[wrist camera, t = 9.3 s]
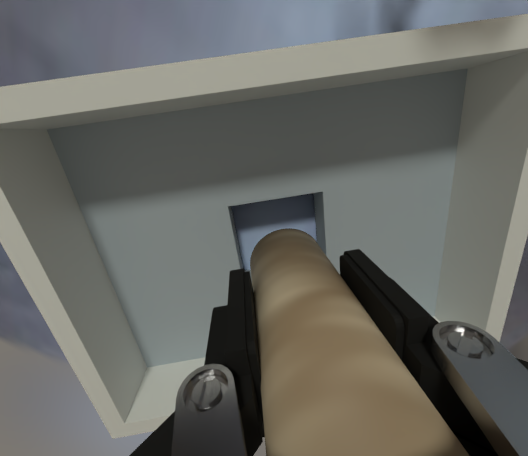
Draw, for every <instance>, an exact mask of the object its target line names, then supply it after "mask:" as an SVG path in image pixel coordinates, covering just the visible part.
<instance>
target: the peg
mask: <svg viewBox="0 0 528 456" xmlns="http://www.w3.org/2000/svg"><path fill="white" fill-rule="evenodd" d="M250 267H251V278H252V287H253V292H254V303H255V314H256V325H257V337H258V348H259V359H260V370H261V397H262V409H263V421H264V433H265V444H266V456H469V454H468V453H467V451H466V450H465V449H464V447H463V446H462V444H461V443H460V442H459V440H458V439H457V437H456V436H455V435H454V433H453V432H452V431H451V429H450V428H449V426H448V425H447V424H446V422H445V421H444V419H443V418H442V417H441V415H440V414H439V412H438V411H437V410H436V408H435V407H434V405H433V404H432V403H431V401H430V400H429V398H428V397H427V396H426V394H425V393H424V391H423V390H422V389H421V387H420V386H419V384H418V383H417V382H416V380H415V379H414V377H413V376H412V375H411V373H410V372H409V370H408V369H407V368H406V366H405V365H404V364H403V362H402V361H401V359H400V358H399V357H398V355H397V354H396V352H395V351H394V350H393V348H392V347H391V345H390V344H389V343H388V341H387V340H386V338H385V337H384V336H383V334H382V333H381V331H380V330H379V329H378V327H377V326H376V324H375V323H374V322H373V320H372V319H371V317H370V316H369V315H368V313H367V312H366V310H365V309H364V308H363V306H362V305H361V303H360V302H359V301H358V299H357V298H356V297H355V295H354V294H353V292H352V291H351V290H350V288H349V287H348V285H347V284H346V283H345V281H344V280H343V278H342V277H341V276H340V274H339V273H338V271H337V270H336V269H335V267H334V266H333V264H332V263H331V262H330V260H329V259H328V257H327V256H326V255H325V253H324V252H323V250H322V249H321V248H320V246H319V245H318V243H317V242H316V241H315V240H314V239H313V237H311V236H310V235H309V234H307V233H305V232H303V231H301V230H297V229H280V230H277V231H274V232H271V233H269V234H268V235H266V236H265V237H263V238H262V239H261V240H260V241H259V242H258V243H257V245H256V246H255V248H254V250H253V252H252V255H251V260H250Z"/></svg>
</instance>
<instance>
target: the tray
mask: <svg viewBox="0 0 528 456" xmlns="http://www.w3.org/2000/svg"><path fill="white" fill-rule="evenodd" d="M310 193H314V207H315V221H316V236H317V243H318V245H319V246H320V248H321V249H322V250H323V252H324V253H325V255H326V256H327V257H328V259H329V260H330V262H331V263H332V264H333V266H334V267H335V269H336V270H337V271H338V273H339V274H340V256H341V255H343V254H344V252H345V251H349V250H355V249H360V250H361V251H362V252H363V253H364V254H365V255H366V256H367V257H368V258H370V259H371V260H372V261H373V262H374V263H375V264H376V265H377V266H378V267H379V268H380V269H381V270H382V271H383V272H384V273H385V274H386V275H387V276H388V277H389V278H392V279H393V280H394V281H395V282H396V283H397V284H398V285H399V286H400V287H402V288H403V289H404V290H405V291H406V292H407V293H408V294H409V295H410V296H411V297H412V298H413V299H414V300H415V301H416V302H417V303H418V304H420V305H421V306H422V307H423V308H424V309H425V310H426V311H427V312H428V313H429V314H430V315H431V316H432V317H433V318H434V319H435V320H436V321H438V322H439V323H440V322H444V321H460V322H464V323H468V324H471V325H474V326H477V327H479V328H481V329H482V330H484V331H486V332H488V333H489V334H490V335H492V336H493V337H494V338H495V339H496V340H497V341H498V342H500V338H501V334H502V330H503V326H504V323H505V319H506V315H507V311H508V307H509V304H510V300H511V296H512V292H513V288H514V284H515V281H516V277H517V273H518V269H519V265H520V262H521V258H522V254H523V250H524V246H525V242H526V239H527V235H528V14H523V15H516V16H509V17H501V18H494V19H487V20H480V21H473V22H465V23H458V24H451V25H444V26H436V27H429V28H422V29H415V30H408V31H400V32H393V33H386V34H379V35H372V36H364V37H357V38H350V39H343V40H336V41H328V42H321V43H314V44H307V45H299V46H292V47H285V48H278V49H271V50H263V51H256V52H249V53H242V54H235V55H227V56H220V57H213V58H206V59H198V60H191V61H184V62H177V63H170V64H162V65H155V66H148V67H141V68H134V69H126V70H119V71H112V72H105V73H98V74H90V75H83V76H76V77H69V78H61V79H54V80H47V81H40V82H33V83H25V84H18V85H11V86H4V87H0V242H1V244H2V246H3V248H4V249H5V251H6V253H7V255H8V256H9V258H10V260H11V262H12V263H13V265H14V267H15V269H16V270H17V272H18V274H19V276H20V277H21V279H22V281H23V283H24V284H25V286H26V288H27V290H28V291H29V293H30V295H31V297H32V298H33V300H34V302H35V304H36V305H37V307H38V309H39V311H40V312H41V314H42V316H43V318H44V319H45V321H46V323H47V325H48V326H49V328H50V330H51V332H52V333H53V335H54V337H55V339H56V340H57V342H58V344H59V346H60V348H61V349H62V351H63V353H64V355H65V356H66V358H67V360H68V362H69V363H70V365H71V367H72V369H73V370H74V372H75V374H76V376H77V377H78V379H79V380H80V382H81V384H82V386H83V388H84V390H85V391H86V393H87V395H88V396H89V398H90V400H91V402H92V403H93V405H94V407H95V409H96V410H97V412H98V414H99V416H100V417H101V419H102V421H103V423H104V424H105V426H106V428H107V430H108V431H109V433H110V435H111V437H112V438H113V439H114V438H119V437H125V436H130V435H136V434H141V433H146V432H151V431H155V430H156V429H157V428H158V427H159V426H160V425H161V424H162V423H163V422H164V421H165V420H166V419H167V418H168V417H169V416H170V415H171V414H172V413H173V412H174V411H175V406H176V397H177V393H178V389H179V387H180V386H181V384H182V382H183V381H184V379H185V378H186V377H187V376H188V375H189V374H190V373H192V372H193V371H194V370H196V369H197V368H200V367H202V366H204V363H205V356H206V350H207V343H208V337H209V330H210V323H211V317H212V311H213V308H214V307H219V306H225V305H227V303H228V289H229V274H230V271H231V270H237V269H243V265H242V260H241V255H240V250H239V245H238V239H237V234H236V229H235V224H234V219H233V214H232V208H231V206H235V205H241V204H247V203H254V202H260V201H266V200H273V199H279V198H285V197H291V196H298V195H304V194H310ZM247 271H250V276H251V270H247ZM247 271H245V272H247ZM251 281H252V278H251Z"/></svg>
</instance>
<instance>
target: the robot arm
mask: <svg viewBox="0 0 528 456" xmlns="http://www.w3.org/2000/svg"><path fill="white" fill-rule="evenodd" d="M340 276H341V277H342V278H343V280H344V281H345V283H346V284H347V285H348V287H349V288H350V290H351V291H352V292H353V294H354V295H355V297H356V298H357V299H358V301H359V302H360V303H361V305H362V306H363V308H364V309H365V310H366V312H367V313H368V315H369V316H370V317H371V319H372V320H373V322H374V323H375V324H376V326H377V327H378V329H379V330H380V331H381V333H382V334H383V336H384V337H385V338H386V340H387V341H388V343H389V344H390V345H391V347H392V348H393V350H394V351H395V352H396V354H397V355H398V357H399V358H400V359H401V361H402V362H403V364H404V365H405V366H406V368H407V369H408V370H409V372H410V373H411V375H412V376H413V377H414V379H415V380H416V382H417V383H418V384H419V386H420V387H421V389H422V390H423V391H424V393H425V394H426V396H427V397H428V398H429V400H430V401H431V403H432V404H433V405H434V407H435V408H436V410H437V411H438V412H439V414H440V415H441V417H442V418H443V419H444V421H445V422H446V424H447V425H448V426H449V428H450V429H451V431H452V432H453V433H454V435H455V436H456V437H457V439H458V440H459V442H460V443H461V444H462V446H463V447H464V449H465V450H466V451H467V453H468V454H469V456H528V362H526V361H523V360H520V359H517V358H515V357H514V356H513V355H512V354H511V353H510V352H509V351H508V350H507V349H506V348H505V347H504V346H503V345H502V344H501V343H500V342H498V341H497V340H496V339H495V338H494V337H493V336H492V335H490V334H489V333H488V332H486V331H484V330H482V329H481V328H479V327H477V326H474V325H471V324H468V323H464V322H460V321H444V322H440V323H439V322H438V321H436V320H435V319H434V318H433V317H432V316H431V315H430V314H429V313H428V312H427V311H426V310H425V309H424V308H423V307H422V306H421V305H420V304H418V303H417V302H416V301H415V300H414V299H413V298H412V297H411V296H410V295H409V294H408V293H407V292H406V291H405V290H404V289H403V288H402V287H400V286H399V285H398V284H397V283H396V282H395V281H394V280H393V279H392V278H389V277H388V276H387V275H386V274H385V273H384V272H383V271H382V270H381V269H380V268H379V267H378V266H377V265H376V264H375V263H374V262H373V261H372V260H371V259H370V258H368V257H367V256H366V255H365V254H364V253H363V252H362V251H361V250H360V249H355V250H349V251H345V252H344V254H343V255H341V256H340ZM262 437H265V433H264V421H263V409H262V397H261V370H260V359H259V348H258V337H257V325H256V314H255V303H254V292H253V287H252V281H251V276H250V271H247V272H245V271H244V268H243V269H237V270H231V271H230V274H229V289H228V303H227V305H225V306H219V307H214V308H213V311H212V317H211V323H210V330H209V337H208V343H207V350H206V356H205V363H204V366H202V367H200V368H197V369H196V370H194V371H193V372H192V373H190V374H189V375H188V376H187V377H186V378H185V379H184V381H183V382H182V384H181V386H180V387H179V389H178V393H177V397H176V406H175V411H174V412H173V413H172V414H171V415H170V416H169V417H168V418H167V419H166V420H165V421H164V422H163V423H162V424H161V425H160V426H159V427H158V428H157V429H156V430H155V431H154V432H153V433H152V434H151V435H150V436H149V437H148V438H147V439H146V440H145V441H144V442H143V443H142V444H141V445H140V446H139V447H138V448H137V449H136V450H135V451H134V452H133V453H132V454H131V455H130V456H253V455H254V453H255V452H256V451H257V449H258V447H259V446H260V445H261V443H262Z"/></svg>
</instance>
